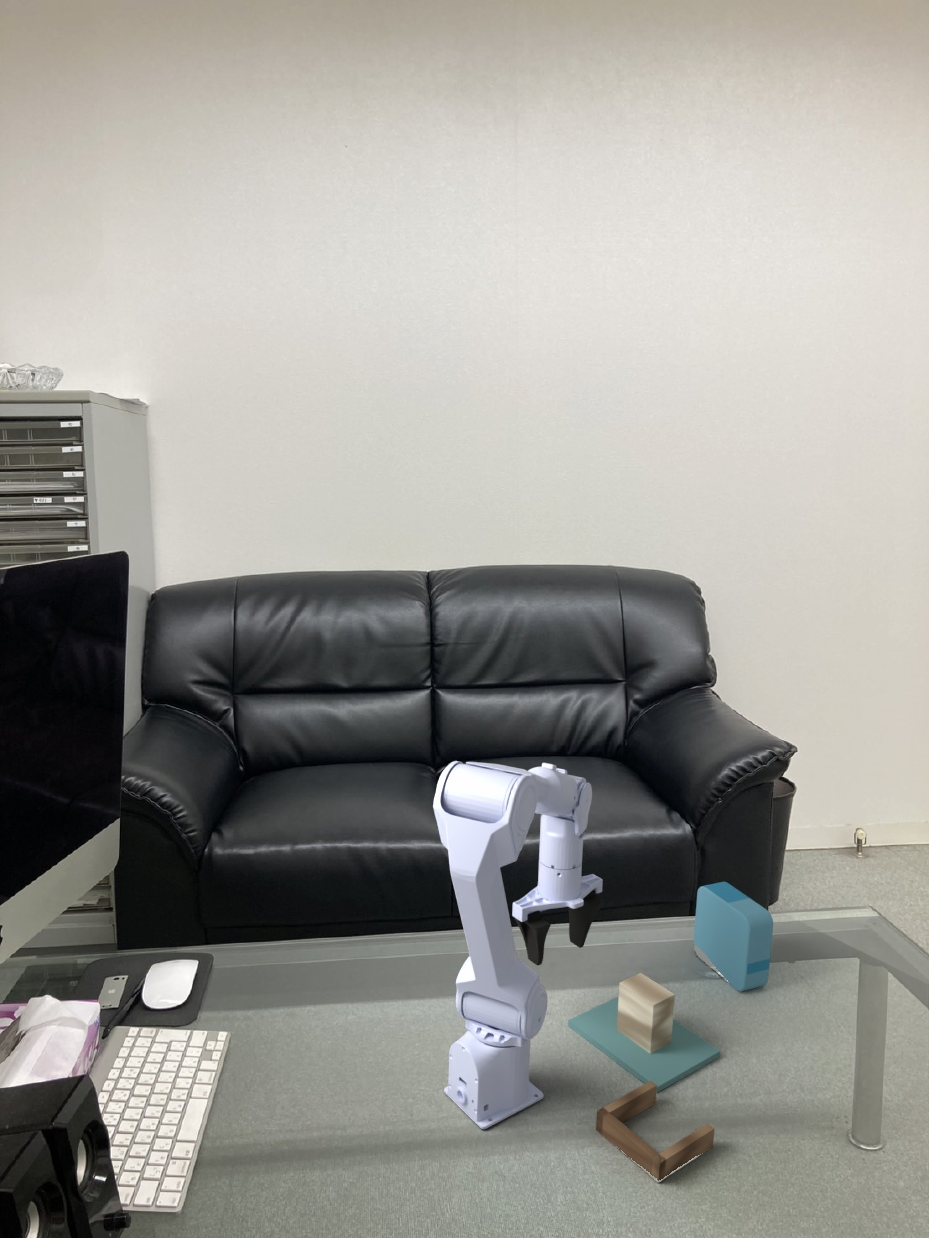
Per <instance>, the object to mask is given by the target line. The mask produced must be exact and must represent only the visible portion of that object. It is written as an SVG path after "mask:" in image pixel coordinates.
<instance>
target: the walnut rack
mask: <svg viewBox="0 0 929 1238" xmlns="http://www.w3.org/2000/svg"><path fill="white" fill-rule="evenodd" d="M656 1092H657V1085H656V1084H655V1083H653V1082H652V1081H649V1082H647V1083H646V1084H644V1083H643V1084H641V1086H638V1087H637V1088H635V1089H633V1090H632V1091H629V1092H627V1094H625V1095H623V1096H621V1097H619V1098H617V1099H616V1100H613V1101H611V1102H610V1103H609V1104H607V1105H605V1106H603V1107H602V1108H600V1109H597V1111H596V1121H595V1131H597V1132H598V1133H599V1134H600V1135H601V1136H602V1137H603V1138H605V1140H607V1141H609V1143H611V1144H612V1143H613V1144H614V1145H616V1146H617V1147H618V1148H619V1149H620V1150H622V1151H623V1152H624V1153H625V1154H626V1155H627V1156H628V1157H630V1158H632V1160H633V1161H635V1162H636V1163H637V1164H639V1165H640V1166H642V1167H643V1168H644V1169H646V1171H648V1172H650V1174H651V1175H652V1176H654V1177H655V1178H657V1180H658V1181H659V1180H661V1179H663V1178H664V1177H665V1176H667V1175H669V1174H670V1173H671V1172H672V1171H674V1170H676V1169H677V1168H678V1167H680V1166H682V1165H683V1164H685V1163H687V1162H688V1161H689V1160H691V1159H692V1158H694V1157H695V1156H698V1155H700V1154H702V1153H704V1152H705V1151H707V1150H708V1151H710V1150H712V1149H713V1148H714V1138H715V1137H714V1135H715V1128H714V1127H713V1126H712V1125H711V1124H710V1123H708V1122H707V1123H705V1124H704V1125H702V1126H701V1127H699V1128H698V1129H695V1130H694V1131H693V1132H691V1133H689V1134H688V1135H687V1136H685V1137H683V1138H682V1139H680V1140H679V1141H677V1142H676V1143H673V1144H672V1145H670V1146H669V1147H668V1148H666V1149H664V1150H663V1151H661V1152H660V1153H659V1152H658V1151H657V1150H655V1149H654V1148H653V1147H652V1146H651V1145H650V1144H649V1143H647V1142H646V1141H645V1140H643V1139H642V1138H641V1137H639V1136H638V1135H637V1134H636V1133H635V1132H634V1131H633V1130H631V1129H630V1128H629V1127H627V1126H626V1125H625V1124H624V1123H625V1122H627V1121H629V1120H630V1119H632V1118H634V1117H635V1116H637V1115H639V1114H640V1113H642V1112H644V1111H646V1110H647V1109H649V1108H651V1107H653V1106H654V1105H655V1104H656V1103H657V1093H658V1092H657V1093H656ZM613 1144H612V1145H613ZM614 1145H613V1146H614ZM618 1148H617V1149H618ZM619 1149H618V1150H619ZM709 1149H710V1150H709ZM620 1150H619V1151H620ZM708 1151H707V1152H708ZM705 1153H706V1152H705ZM705 1153H704V1154H705ZM625 1154H624V1155H625ZM626 1155H625V1156H626ZM702 1155H703V1154H702ZM627 1156H626V1157H627ZM628 1157H627V1158H628ZM632 1160H631V1161H632ZM633 1161H632V1162H633Z"/></svg>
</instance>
